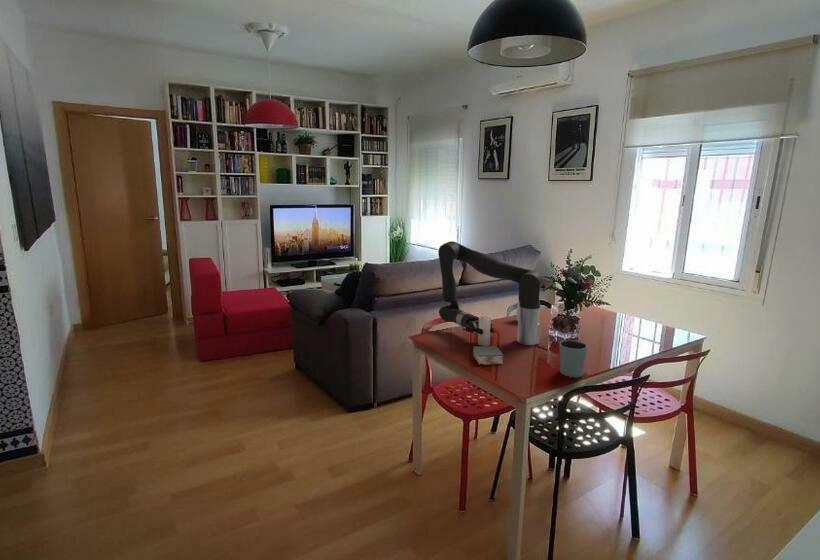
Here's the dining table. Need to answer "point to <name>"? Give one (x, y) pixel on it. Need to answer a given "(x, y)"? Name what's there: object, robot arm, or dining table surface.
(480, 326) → the pale grey rectangular block
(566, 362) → the plant pot
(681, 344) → the dining table surface
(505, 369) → the dining table surface
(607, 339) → the dining table surface
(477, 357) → the plinth
